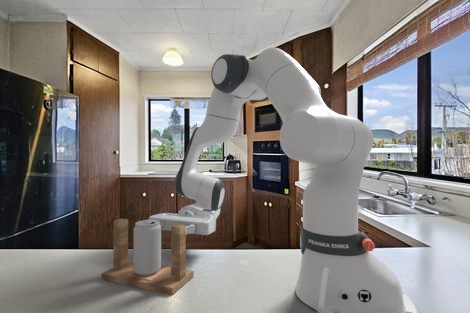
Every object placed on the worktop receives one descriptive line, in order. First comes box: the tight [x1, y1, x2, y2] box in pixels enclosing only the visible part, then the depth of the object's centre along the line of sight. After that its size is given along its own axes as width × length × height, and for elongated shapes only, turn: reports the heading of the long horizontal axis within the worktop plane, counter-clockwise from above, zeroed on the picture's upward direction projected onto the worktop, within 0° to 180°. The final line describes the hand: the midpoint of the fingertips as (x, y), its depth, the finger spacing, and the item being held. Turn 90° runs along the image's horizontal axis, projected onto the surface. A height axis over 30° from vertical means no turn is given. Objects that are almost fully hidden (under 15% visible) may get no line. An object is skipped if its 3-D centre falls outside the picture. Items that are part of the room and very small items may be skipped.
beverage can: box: [132, 219, 162, 276], centre depth 62 cm, size 6×6×12 cm
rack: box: [101, 218, 195, 296], centre depth 62 cm, size 20×9×14 cm, turn 70°
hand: (166, 230), depth 69 cm, fingers open, 8 cm apart
